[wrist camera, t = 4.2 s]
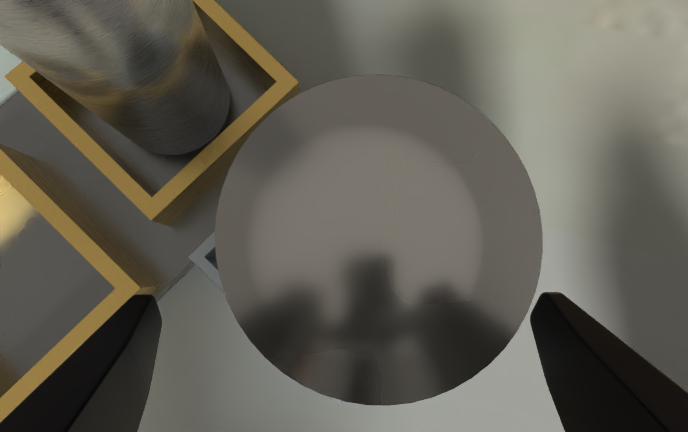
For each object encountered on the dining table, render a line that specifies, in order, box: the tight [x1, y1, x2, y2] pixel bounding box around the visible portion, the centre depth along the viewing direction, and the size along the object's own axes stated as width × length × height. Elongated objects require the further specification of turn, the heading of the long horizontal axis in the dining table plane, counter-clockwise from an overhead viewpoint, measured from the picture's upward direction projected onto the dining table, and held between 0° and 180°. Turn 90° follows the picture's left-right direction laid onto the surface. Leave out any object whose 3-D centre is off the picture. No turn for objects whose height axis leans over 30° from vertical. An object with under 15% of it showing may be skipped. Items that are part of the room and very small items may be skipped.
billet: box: [215, 74, 542, 405], centre depth 13 cm, size 5×5×13 cm
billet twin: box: [0, 0, 230, 155], centre depth 12 cm, size 5×5×13 cm
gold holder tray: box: [0, 0, 299, 422], centre depth 17 cm, size 18×10×3 cm, turn 136°
